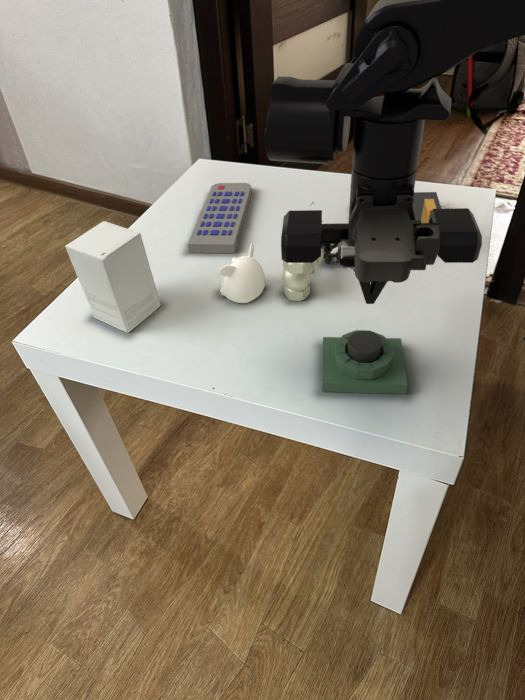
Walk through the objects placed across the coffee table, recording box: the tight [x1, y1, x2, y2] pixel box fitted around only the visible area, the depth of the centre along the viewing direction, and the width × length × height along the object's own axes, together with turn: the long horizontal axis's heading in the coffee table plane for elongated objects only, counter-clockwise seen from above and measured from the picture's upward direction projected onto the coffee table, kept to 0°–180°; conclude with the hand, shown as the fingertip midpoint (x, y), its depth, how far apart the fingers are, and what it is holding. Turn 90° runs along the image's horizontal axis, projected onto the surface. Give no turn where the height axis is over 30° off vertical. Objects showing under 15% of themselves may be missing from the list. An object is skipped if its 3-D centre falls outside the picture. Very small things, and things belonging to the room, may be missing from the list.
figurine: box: [218, 242, 266, 304], centre depth 73 cm, size 8×6×7 cm
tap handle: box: [421, 199, 436, 223], centre depth 77 cm, size 5×1×5 cm, turn 174°
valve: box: [281, 244, 339, 302], centre depth 74 cm, size 7×7×12 cm
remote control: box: [187, 182, 252, 254], centre depth 91 cm, size 8×23×2 cm, turn 173°
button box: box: [321, 329, 409, 395], centre depth 61 cm, size 10×8×4 cm
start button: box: [347, 329, 382, 363], centre depth 60 cm, size 4×4×2 cm
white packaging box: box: [64, 220, 161, 334], centre depth 70 cm, size 7×7×13 cm
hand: (369, 301), depth 55 cm, fingers closed
